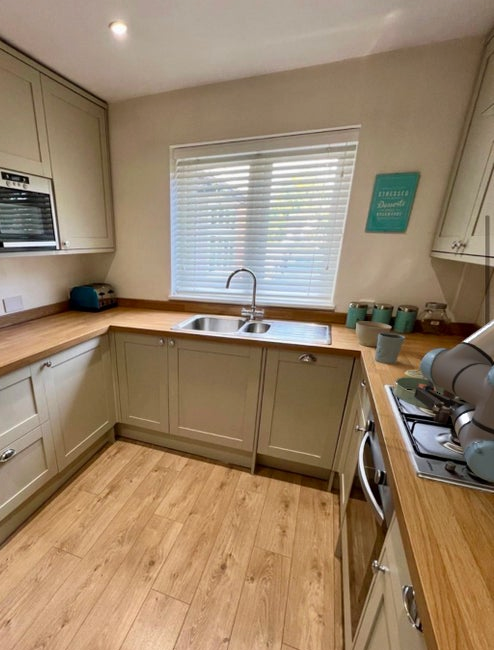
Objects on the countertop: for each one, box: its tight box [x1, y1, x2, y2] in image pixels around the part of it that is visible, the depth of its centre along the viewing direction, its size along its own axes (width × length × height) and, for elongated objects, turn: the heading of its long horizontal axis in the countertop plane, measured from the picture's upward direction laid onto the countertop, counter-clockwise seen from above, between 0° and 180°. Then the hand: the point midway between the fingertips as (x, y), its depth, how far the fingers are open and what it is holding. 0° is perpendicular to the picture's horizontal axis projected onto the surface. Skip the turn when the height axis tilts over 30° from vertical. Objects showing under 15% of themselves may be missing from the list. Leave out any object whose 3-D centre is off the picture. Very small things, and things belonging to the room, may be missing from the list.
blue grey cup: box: [374, 332, 406, 365], centre depth 149 cm, size 10×10×12 cm
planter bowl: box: [355, 320, 392, 348], centre depth 174 cm, size 16×16×11 cm
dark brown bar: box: [432, 389, 456, 425], centre depth 95 cm, size 3×3×15 cm
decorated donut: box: [403, 369, 426, 379], centre depth 127 cm, size 10×11×4 cm
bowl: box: [392, 376, 461, 410], centre depth 112 cm, size 18×18×4 cm
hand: (460, 390), depth 84 cm, fingers open, 13 cm apart
